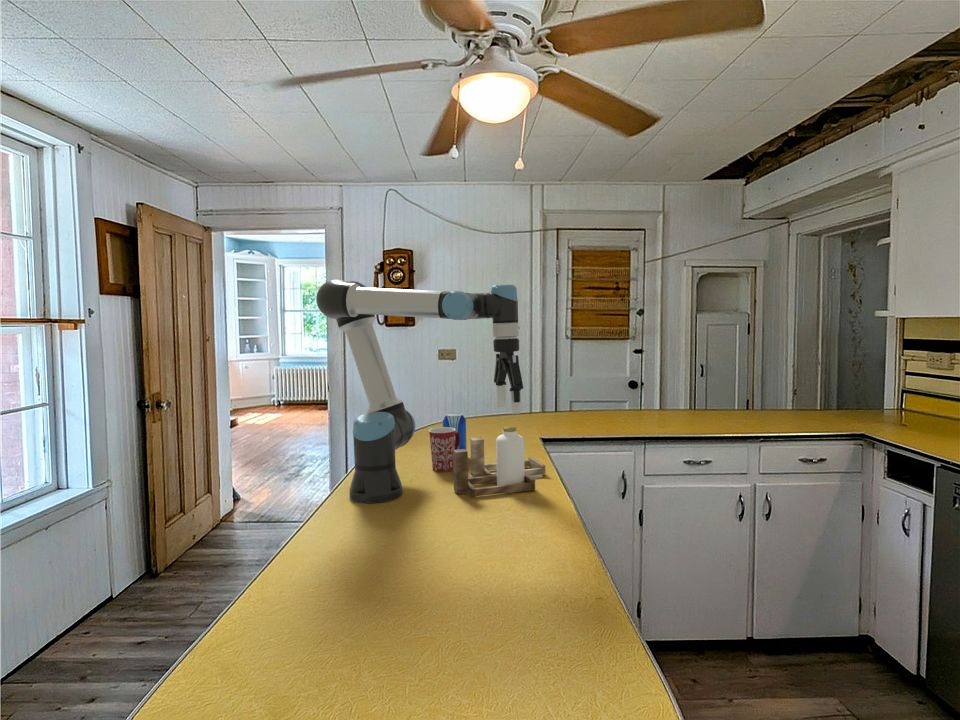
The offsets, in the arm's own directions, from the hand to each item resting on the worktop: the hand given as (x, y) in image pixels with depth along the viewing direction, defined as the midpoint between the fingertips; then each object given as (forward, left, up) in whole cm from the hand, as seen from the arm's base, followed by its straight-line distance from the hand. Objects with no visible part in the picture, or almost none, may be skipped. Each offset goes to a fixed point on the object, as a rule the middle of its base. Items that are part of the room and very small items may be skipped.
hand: (508, 410), depth 167 cm
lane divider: (+5, +7, -23) cm, 25 cm away
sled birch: (+3, +14, -23) cm, 27 cm away
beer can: (-7, +41, -24) cm, 48 cm away
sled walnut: (-5, 0, -23) cm, 24 cm away
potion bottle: (0, +1, -24) cm, 24 cm away
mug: (-13, +28, -24) cm, 39 cm away
